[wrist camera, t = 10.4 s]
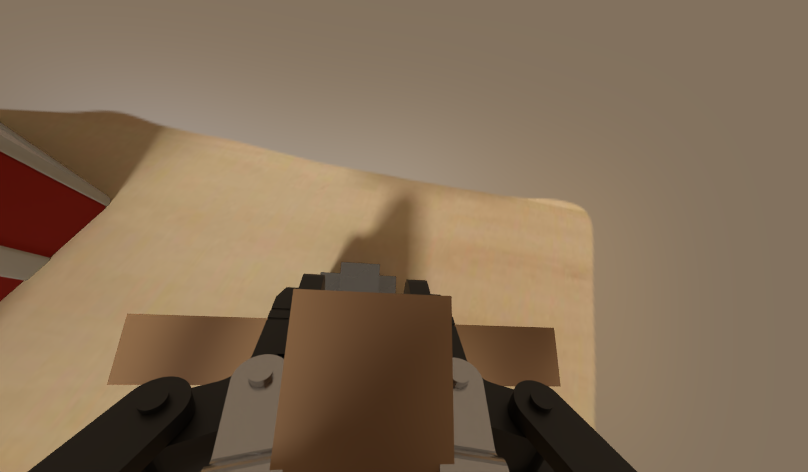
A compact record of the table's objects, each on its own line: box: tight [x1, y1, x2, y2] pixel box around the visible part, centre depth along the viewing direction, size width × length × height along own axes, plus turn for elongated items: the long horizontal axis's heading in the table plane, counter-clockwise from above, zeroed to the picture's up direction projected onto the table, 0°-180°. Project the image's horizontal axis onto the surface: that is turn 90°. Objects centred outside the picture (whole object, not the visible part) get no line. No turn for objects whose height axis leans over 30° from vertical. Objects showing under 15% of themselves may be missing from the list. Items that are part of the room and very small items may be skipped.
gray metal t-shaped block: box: [321, 262, 396, 294], centre depth 28 cm, size 12×7×10 cm, turn 178°
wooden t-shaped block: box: [107, 289, 560, 472], centre depth 10 cm, size 18×3×10 cm, turn 88°
